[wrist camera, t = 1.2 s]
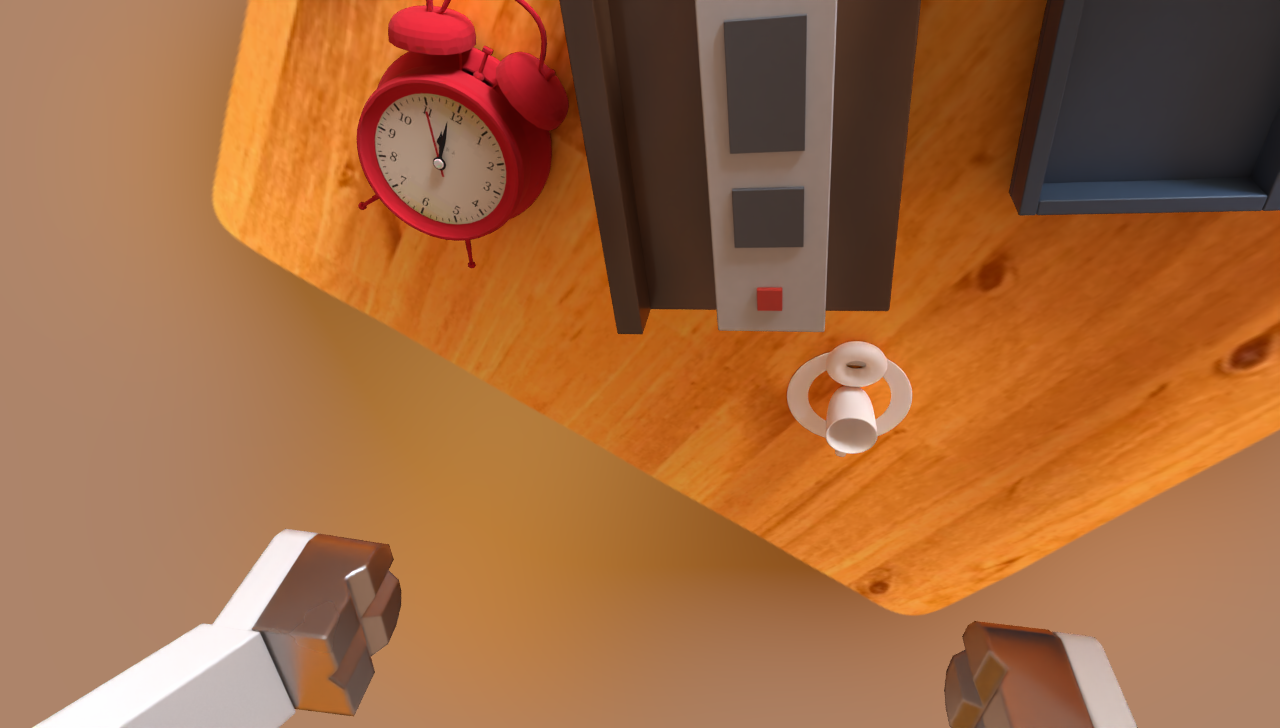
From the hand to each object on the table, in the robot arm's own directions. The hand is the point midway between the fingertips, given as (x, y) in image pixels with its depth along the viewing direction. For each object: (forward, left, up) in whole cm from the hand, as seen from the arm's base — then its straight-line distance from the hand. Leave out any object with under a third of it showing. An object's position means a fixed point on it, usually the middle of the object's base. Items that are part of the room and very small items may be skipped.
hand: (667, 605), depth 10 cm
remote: (0, +2, -22) cm, 22 cm away
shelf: (+1, +2, -32) cm, 32 cm away
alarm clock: (+17, +4, -33) cm, 37 cm away
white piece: (-7, +23, -33) cm, 41 cm away
